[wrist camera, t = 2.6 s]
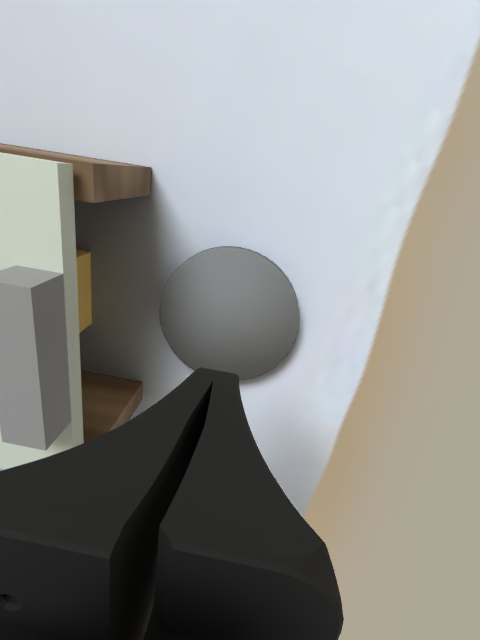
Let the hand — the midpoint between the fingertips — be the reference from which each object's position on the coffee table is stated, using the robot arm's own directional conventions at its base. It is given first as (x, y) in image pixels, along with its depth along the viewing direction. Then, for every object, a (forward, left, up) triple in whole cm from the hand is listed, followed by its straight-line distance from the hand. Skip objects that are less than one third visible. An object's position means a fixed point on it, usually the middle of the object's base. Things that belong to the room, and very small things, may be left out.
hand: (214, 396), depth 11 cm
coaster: (0, +1, -7) cm, 7 cm away
